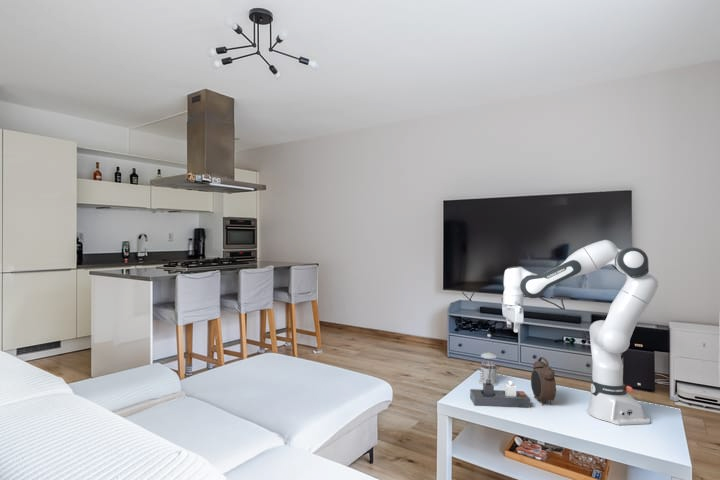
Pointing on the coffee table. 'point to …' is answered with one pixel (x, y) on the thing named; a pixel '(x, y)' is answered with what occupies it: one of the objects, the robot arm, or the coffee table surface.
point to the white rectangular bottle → (510, 389)
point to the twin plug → (488, 388)
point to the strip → (499, 399)
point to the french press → (488, 369)
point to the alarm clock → (543, 381)
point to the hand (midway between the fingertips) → (512, 329)
